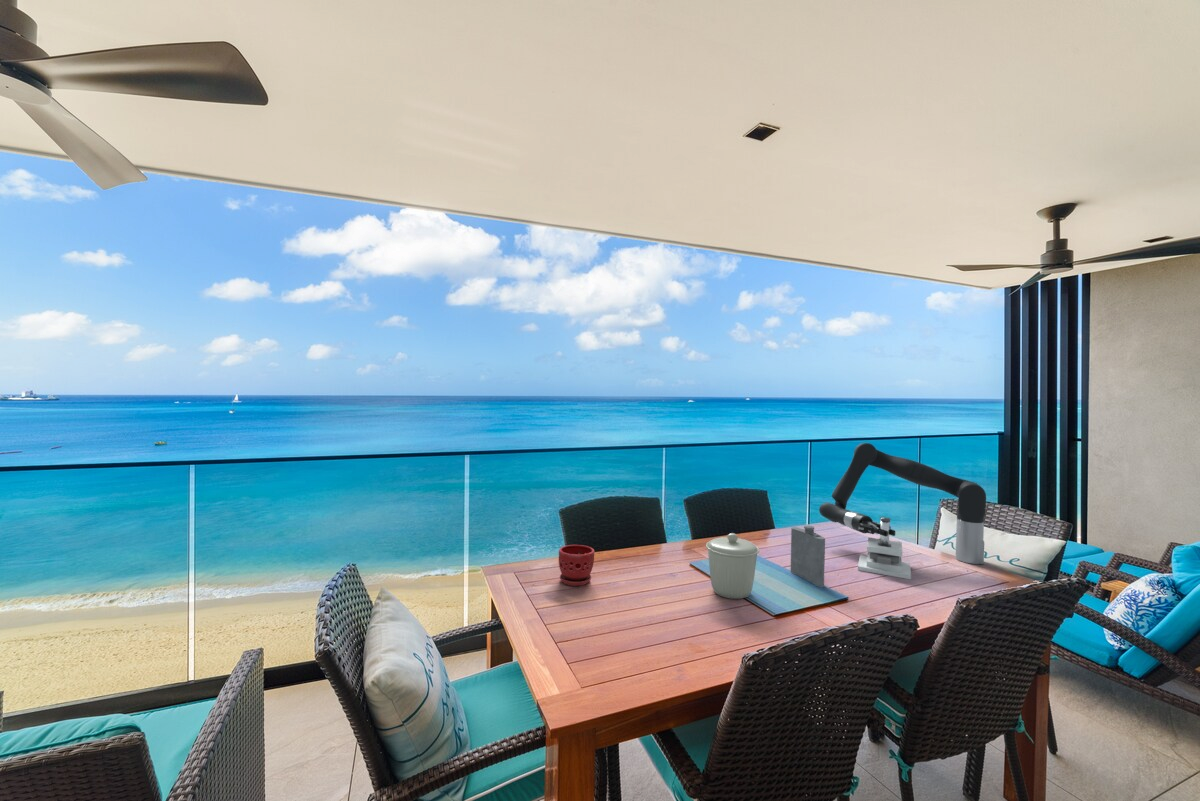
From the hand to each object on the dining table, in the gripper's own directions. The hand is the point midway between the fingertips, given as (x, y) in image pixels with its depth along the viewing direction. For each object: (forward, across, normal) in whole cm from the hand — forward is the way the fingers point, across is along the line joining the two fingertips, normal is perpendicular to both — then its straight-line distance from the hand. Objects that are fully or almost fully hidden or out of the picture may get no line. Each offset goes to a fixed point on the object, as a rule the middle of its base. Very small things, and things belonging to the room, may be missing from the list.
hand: (890, 533), depth 195 cm
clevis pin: (-3, 0, +6) cm, 7 cm away
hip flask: (-1, -38, +15) cm, 40 cm away
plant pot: (-18, -124, +15) cm, 126 cm away
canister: (+5, -73, +15) cm, 75 cm away
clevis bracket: (-3, 0, +15) cm, 15 cm away
